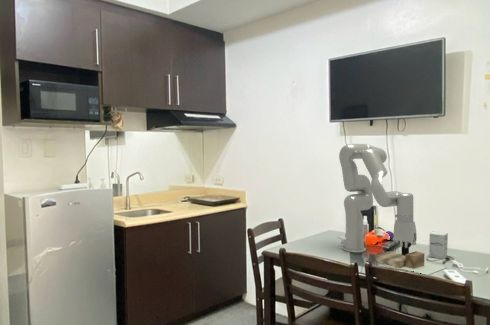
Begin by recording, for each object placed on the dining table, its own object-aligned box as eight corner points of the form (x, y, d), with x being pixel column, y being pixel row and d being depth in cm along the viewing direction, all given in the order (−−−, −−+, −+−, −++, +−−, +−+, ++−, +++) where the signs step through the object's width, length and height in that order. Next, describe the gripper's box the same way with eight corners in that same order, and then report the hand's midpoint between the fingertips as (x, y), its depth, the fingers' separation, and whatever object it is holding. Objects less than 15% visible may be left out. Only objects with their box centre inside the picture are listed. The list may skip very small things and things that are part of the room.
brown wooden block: (405, 254, 185) (413, 256, 182) (415, 251, 190) (424, 253, 187) (405, 266, 185) (413, 268, 182) (415, 263, 190) (424, 265, 187)
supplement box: (428, 257, 203) (428, 233, 203) (432, 254, 209) (432, 230, 208) (444, 259, 198) (444, 235, 198) (447, 256, 204) (448, 232, 204)
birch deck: (376, 261, 196) (376, 255, 196) (391, 256, 204) (391, 251, 204) (401, 267, 185) (401, 261, 185) (417, 262, 193) (417, 256, 193)
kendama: (368, 237, 234) (386, 230, 246) (370, 247, 234) (388, 239, 246) (376, 237, 229) (394, 230, 242) (378, 247, 229) (396, 239, 241)
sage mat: (400, 268, 183) (400, 268, 183) (420, 262, 194) (420, 261, 194) (426, 275, 173) (426, 274, 173) (446, 268, 183) (446, 267, 183)
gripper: (387, 217, 194) (387, 253, 194) (415, 221, 182) (415, 259, 182) (395, 215, 198) (395, 251, 199) (423, 219, 186) (423, 257, 187)
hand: (405, 255), depth 191 cm, fingers closed
